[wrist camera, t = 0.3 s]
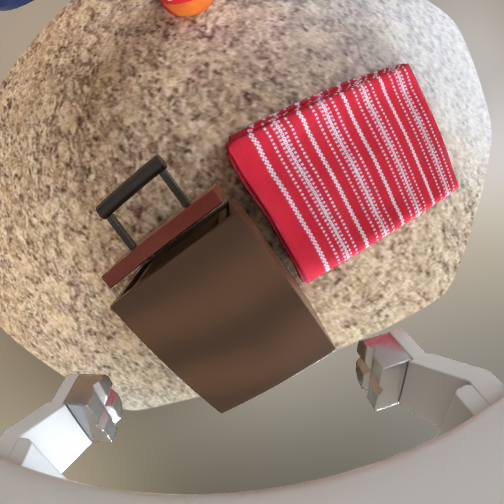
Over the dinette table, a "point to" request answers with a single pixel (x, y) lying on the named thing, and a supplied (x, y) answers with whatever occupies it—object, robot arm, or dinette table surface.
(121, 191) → the drawer
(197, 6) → the paper cup
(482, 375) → the robot arm
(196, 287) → the cabinet
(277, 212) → the dish towel
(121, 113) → the dinette table surface
